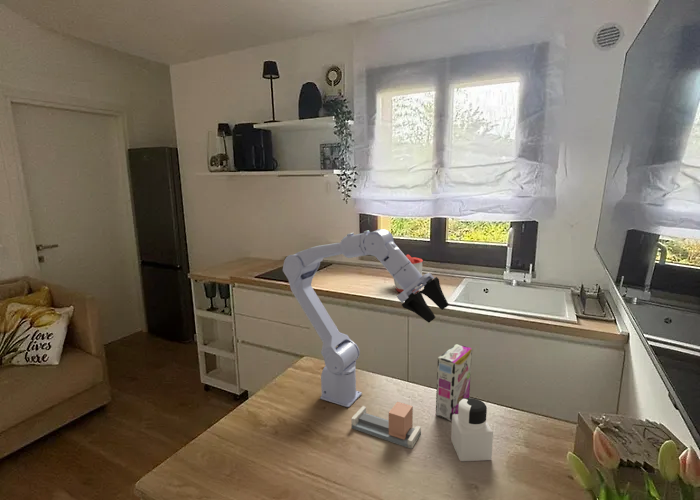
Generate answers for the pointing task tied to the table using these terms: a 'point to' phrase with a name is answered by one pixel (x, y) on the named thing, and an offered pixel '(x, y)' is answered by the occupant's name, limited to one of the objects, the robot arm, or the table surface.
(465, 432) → the medicine bottle
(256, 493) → the table surface
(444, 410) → the candy bar box
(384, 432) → the rail
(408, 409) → the pink rectangular block
